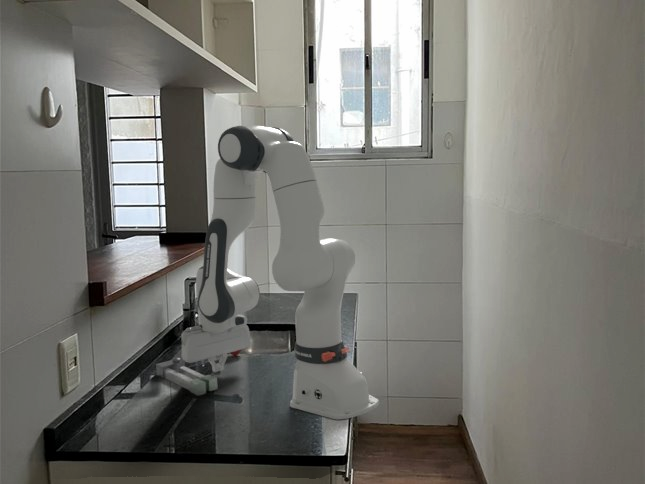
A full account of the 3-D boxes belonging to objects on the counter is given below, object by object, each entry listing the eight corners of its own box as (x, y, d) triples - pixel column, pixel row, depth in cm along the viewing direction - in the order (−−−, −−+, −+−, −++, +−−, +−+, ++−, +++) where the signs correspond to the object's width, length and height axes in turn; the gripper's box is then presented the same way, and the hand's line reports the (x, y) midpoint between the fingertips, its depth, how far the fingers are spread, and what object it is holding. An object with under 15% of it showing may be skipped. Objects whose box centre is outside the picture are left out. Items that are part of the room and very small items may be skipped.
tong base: (218, 389, 169) (218, 377, 169) (197, 395, 165) (196, 383, 165) (176, 369, 187) (175, 359, 187) (156, 374, 183) (156, 364, 183)
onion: (241, 358, 195) (239, 333, 194) (223, 358, 196) (221, 333, 195) (247, 353, 200) (245, 328, 199) (229, 352, 202) (227, 327, 201)
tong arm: (171, 373, 184) (170, 358, 183) (179, 371, 185) (178, 356, 185) (209, 391, 168) (208, 375, 167) (217, 389, 169) (216, 373, 169)
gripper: (186, 331, 168) (190, 382, 170) (251, 316, 181) (254, 364, 183) (175, 327, 173) (179, 377, 175) (239, 313, 186) (242, 359, 188)
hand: (218, 370), depth 179 cm, fingers closed
